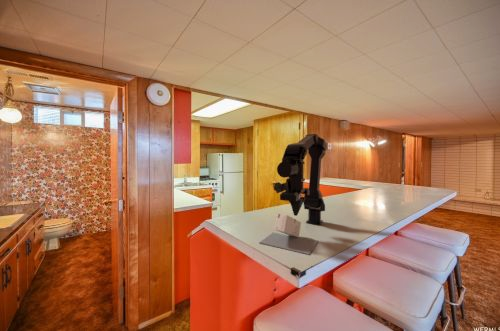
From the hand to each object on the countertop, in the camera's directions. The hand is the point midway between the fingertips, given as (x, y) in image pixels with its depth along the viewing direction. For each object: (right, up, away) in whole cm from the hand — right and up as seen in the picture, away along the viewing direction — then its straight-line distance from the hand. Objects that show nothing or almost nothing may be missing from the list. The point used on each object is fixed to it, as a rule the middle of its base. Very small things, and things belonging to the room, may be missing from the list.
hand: (295, 215), depth 81 cm
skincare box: (0, -5, +1) cm, 5 cm away
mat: (-4, -8, -6) cm, 11 cm away
